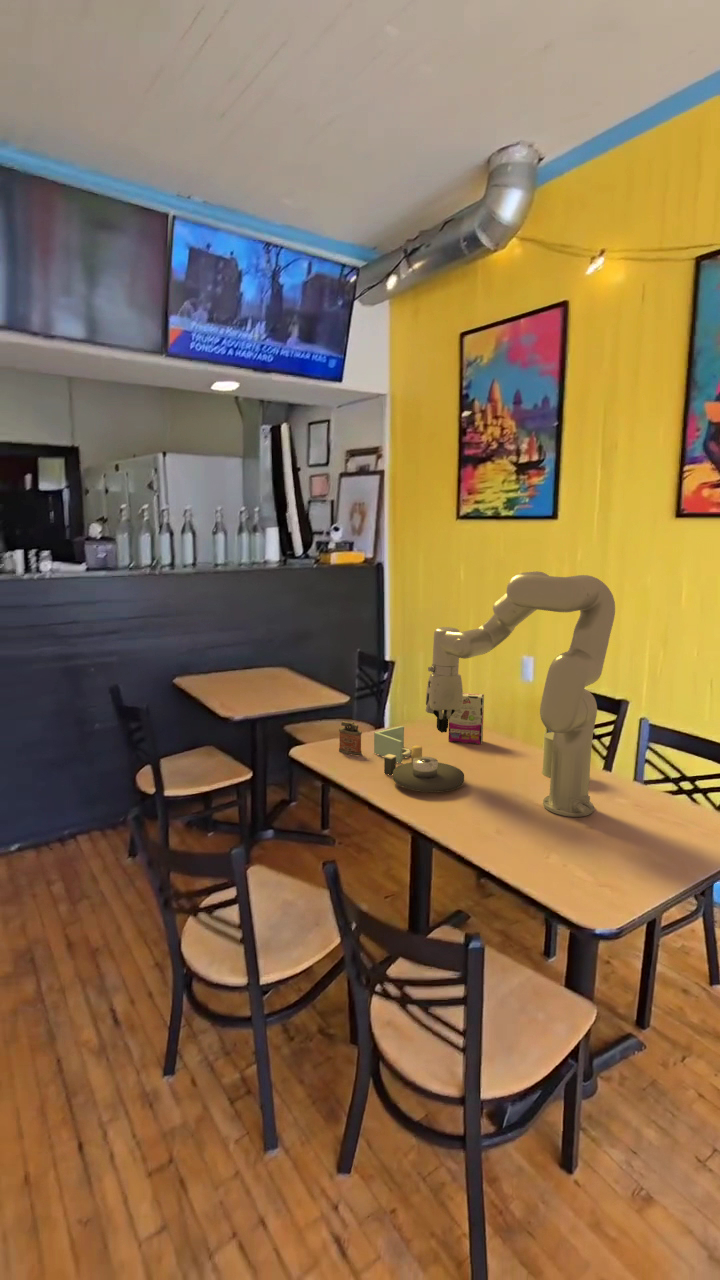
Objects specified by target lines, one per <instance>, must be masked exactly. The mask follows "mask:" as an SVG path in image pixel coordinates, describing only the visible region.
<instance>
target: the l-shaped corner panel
mask: <svg viewBox="0 0 720 1280" xmlns="http://www.w3.org/2000/svg"><path fill="white" fill-rule="evenodd" d="M373 735H374V737H373V739H374V740H373V741H374V742H373V754H374V753H376V754H375V755H377V754H379V755H381V756H380V757H382V756H386V755H388V754H392V755H396V763H397V762H398V763H397V764H399V763H400V764H402V763H403V762H402V761H403V759H406V758H405V757H409V756H410V757H412V750H411V749H410V748H406V747H404V745H405V744H404V743H405V725H401V726H395V727H392V728H388V729H384V730H379V731H376V732H374V734H373ZM379 755H378V756H379ZM401 762H402V763H401Z"/></svg>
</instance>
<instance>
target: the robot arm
mask: <svg viewBox="0 0 720 1280" xmlns="http://www.w3.org/2000/svg"><path fill="white" fill-rule="evenodd" d="M492 606H493V607H492V611H493V615H492V616H491V617H490V618H489V619H488V620H487V621H485V623H483V624H482V625H480V626H479V627H478V628H475V629H473V628H472V629H468V630H463V631H460V630H459V629H458V628H455V627H451V626H441V627H437V628H435V629H434V632H433V646H432V647H433V648H432V663H431V666H428V667H427V671H428V672H431V673H430V674H429V676H428V681H427V686H426V693H425V694H426V695H425V705H426V706H425V707H426V708H425V712H426V713H428V714H433V715H434V716H435V717H436V729H437V731H439V732H440V733H447V732H448V729H449V719H450V717H451V715H452V714H453V713H454V712H457V711H460V710H461V707H462V704H463V693H464V691H463V681H462V680H463V679H462V675H461V674H459V668H460V667H459V665H460V659H463V660H464V659H471V658H474V657H478V656H481V655H485V654H488V653H489V652H492V651H493V650H494V649H495V648H497V647H498V646H499V645H501V644H502V643H503V642H504V641H505V640H506V639H508V637H510V635H511V634H513V632H514V630H515V628H516V627H517V626H518V625H520V624H521V623H522V622H523V621H525V620H526V619H527V618H528V617H530V616H531V615H532V614H533V613H535V612H536V611H537V610H538V611H547V612H554V613H556V612H557V613H574V612H578V611H580V612H579V613H580V614H579V617H578V620H577V622H576V624H575V627H574V628H573V629H574V630H573V633H572V639H571V642H570V646H569V649H568V650H567V651H565V652H562V653H560V654H559V655H557V656H556V657H555V658H554V659H553V660H552V662H551V664H550V665H549V667H548V670H547V675H546V679H545V683H544V687H543V692H542V696H541V700H540V707H539V716H540V720H541V723H542V724H543V725H544V727H545V728H546V729H547V730H549V731H550V732H554V736H553V747H552V763H551V778H550V781H549V782H550V783H549V795H547V796H545V797H544V798H543V799H542V805H543V807H544V809H546V810H547V811H548V812H551V813H553V814H556V815H558V816H565V817H569V818H570V817H574V818H579V817H587V816H590V815H591V814H593V812H594V811H595V808H596V807H595V805H594V804H593V803H592V801H591V796H590V795H589V792H590V791H589V788H590V774H591V760H592V747H593V746H592V745H593V736H594V730H595V725H596V720H597V717H598V715H597V714H598V705H597V701H596V698H595V696H594V695H593V694H592V693H591V692H590V691H589V690H587V689H585V688H586V687H589V686H590V685H592V684H595V683H596V682H597V681H598V680H599V679H600V678H601V675H602V672H603V668H604V663H605V659H606V655H607V653H608V652H607V651H608V646H609V643H610V642H609V641H610V637H611V634H612V633H611V632H612V629H613V625H614V621H615V618H616V617H615V615H616V602H615V598H614V595H613V593H612V591H611V589H610V588H609V587H608V586H607V585H606V583H605V582H603V581H602V580H601V579H599V578H598V577H595V576H592V575H588V574H581V575H580V574H579V575H573V576H572V575H571V576H551V575H549V574H547V573H545V572H542V571H529V572H528V571H525V572H520V573H517V574H516V575H514V576H513V577H511V578H510V580H509V581H508V583H507V585H506V593H504V594H503V595H502V596H501V597H499V598H498V599H497V600H496V601H495V602H494V603H493V605H492Z"/></svg>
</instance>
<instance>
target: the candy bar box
mask: <svg viewBox="0 0 720 1280" xmlns="http://www.w3.org/2000/svg"><path fill="white" fill-rule="evenodd" d="M484 704H485V694H484V693H483V694H482V693H470V692H469V693H468V692H463V704H462V707H461V710H460V711H457V712H454V713H453V714H452V715H451V717H450V719H449V720H448V742H449V743H457V744H458V743H460V744H470V745H482V743H483V740H484V711H485V710H484V707H485V706H484Z"/></svg>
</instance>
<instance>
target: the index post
mask: <svg viewBox="0 0 720 1280" xmlns="http://www.w3.org/2000/svg"><path fill="white" fill-rule="evenodd" d="M383 758H384V759H383V760H384V763H383V766H384V769H383V770H384V772H383V773H385V774H384V775H387V774H389V775H388V776H393V775H392V774H393V770H394V769H395V768H396V767H397V762H396V755H392V754H388V755H386V756H384V757H383Z"/></svg>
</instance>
